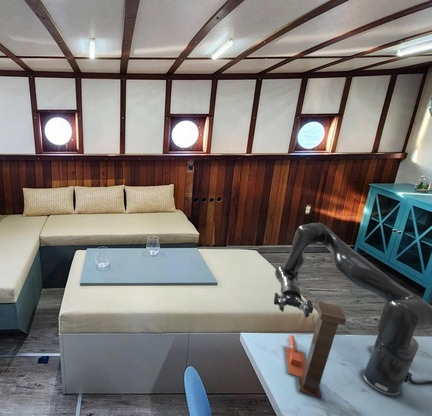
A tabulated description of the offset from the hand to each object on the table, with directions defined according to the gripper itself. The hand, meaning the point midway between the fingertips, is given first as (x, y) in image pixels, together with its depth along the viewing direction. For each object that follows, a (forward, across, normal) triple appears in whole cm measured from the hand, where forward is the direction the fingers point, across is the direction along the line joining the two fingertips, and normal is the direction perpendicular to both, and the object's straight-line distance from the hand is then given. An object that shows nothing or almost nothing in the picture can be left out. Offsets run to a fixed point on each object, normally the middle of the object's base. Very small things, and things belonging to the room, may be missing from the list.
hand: (294, 312), depth 118 cm
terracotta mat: (+18, 0, +10) cm, 20 cm away
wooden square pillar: (+28, +3, +10) cm, 29 cm away
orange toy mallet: (+12, 0, +9) cm, 15 cm away
